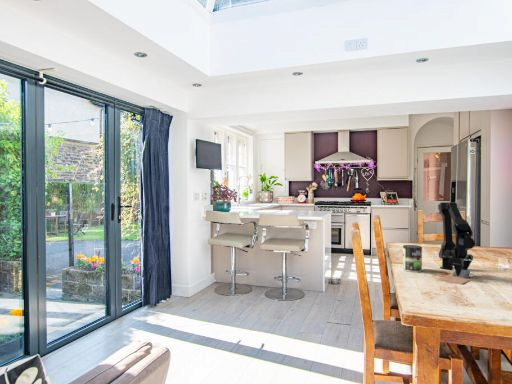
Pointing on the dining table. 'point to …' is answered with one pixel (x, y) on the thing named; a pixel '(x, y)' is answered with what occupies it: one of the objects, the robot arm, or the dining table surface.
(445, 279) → the plate
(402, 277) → the dining table surface
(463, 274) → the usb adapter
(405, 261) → the coffee can
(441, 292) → the dining table surface
